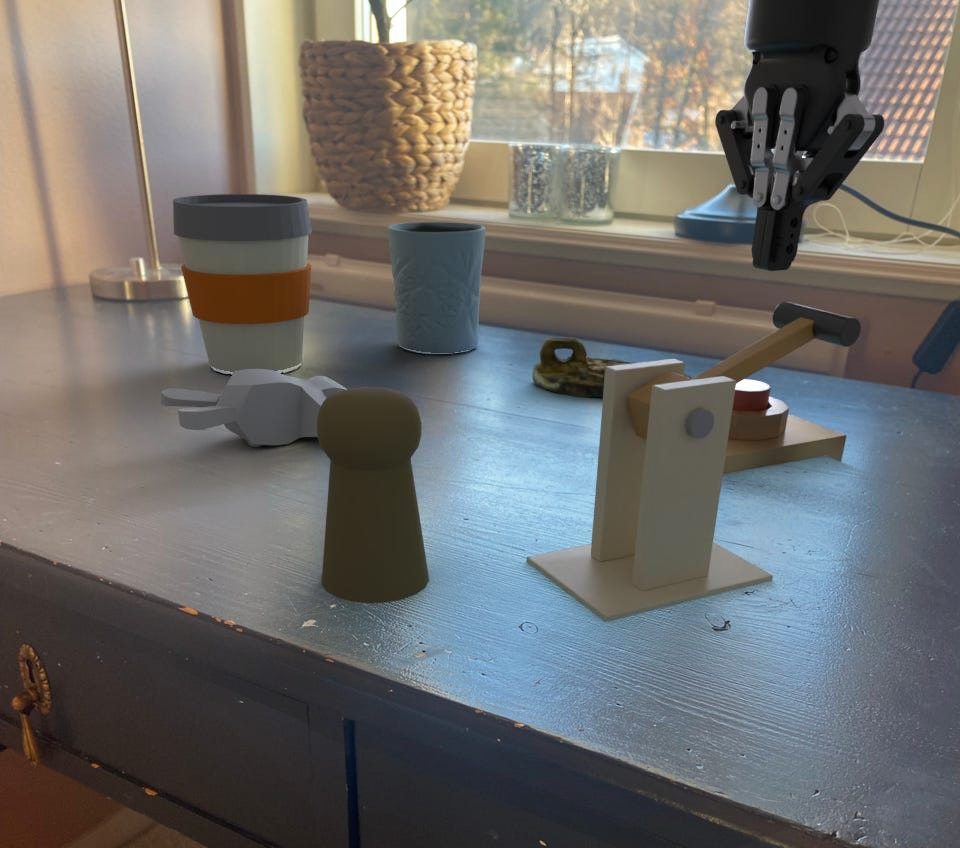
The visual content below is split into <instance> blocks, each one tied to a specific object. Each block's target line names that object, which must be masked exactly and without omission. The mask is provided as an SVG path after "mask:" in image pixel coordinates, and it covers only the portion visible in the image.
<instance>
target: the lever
mask: <svg viewBox="0 0 960 848" xmlns="http://www.w3.org/2000/svg"><path fill="white" fill-rule="evenodd" d="M772 324H773V325H774V327H775V328H776V329H777V330H775V331H774V332H772V333H770V334H768V335H766V336H765V337H763V338H761V339H759V340H758V341H756V342H754V343H752V344H751V345H749V346H747V347H745V348H743V349H742V350H739V351H738V352H737V353H735V354H733V355H731V356H729V357H727V358H726V359H724V360H722V361H720V362H719V363H717V364H715V365H713V366H711V367H709V368H708V369H706V370H704V371H703V372H701V373H699V374H697V375H695V376H694V377H691V378H692V379H690V378H688V377H685V376H682V375H680V374H677V373H674V372H672V371H669V372H667V373H665V374H664V375H662V376H660V377H658V378H657V379H655V380H653V381H651V382H649V383H648V384H646V385H644V386H642V387H640V388H639V389H637V390H635V391H633V392H632V393H630V394H628V395H627V397H628V402H629V406H630V411H631V415H632V419H633V424H634V428H635V433H636V435H637V436H639V437H641V438H643V439H645V440H647V431H648V421H649V412H650V402H651V393H652V386H653V385H659V384H666V383H674V382H682V381H689V380H697V379H705V378H712V377H720V376H725V377H728V378H731V379H733V380H736V383H738V382H740V381H742V380H743V379H747V378H749V377H750V376H752V375H754V374H756V373H757V372H759V371H761V370H763V369H764V368H767V367H768V366H770V365H772V364H773V363H775V362H777V361H778V360H780V359H782V358H784V357H785V356H787V355H789V354H790V353H792V352H794V351H796V350H797V349H799V348H801V347H803V346H805V345H806V344H807V343H809V342H812V341H813V340H815V339H816V340H819V341H821V342H825V343H829V344H833V345H837V346H841V347H844V348H848V347H851V346H853V345H854V344H855V343H856V342H857V341H858V339H859V338H860V335H861V330H862V327H861V325H862V324H861V322H860V321H859V319H857V318H855V317H852V316H847V315H843V314H839V313H835V312H832V311H827V310H823V309H820V308H815V307H811V306H806V305H802V304H799V303H795V302H790V301H785V300H784V301H782V302H780V303H778V305H776V307H775V308H774V311H773V313H772Z"/></svg>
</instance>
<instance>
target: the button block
mask: <svg viewBox="0 0 960 848" xmlns="http://www.w3.org/2000/svg"><path fill="white" fill-rule="evenodd" d="M789 412H790V407H789V406H788V404H786V403H785V401H783V400H780V399H778V398H775V397H772V396H769V401H768V407H767V410H764V411H757V412H755V411H737V410H732V415H731V422H730V429H729V436H728V443H727V449H726V456H725V463H724V470H723V475H728V474H733V473H738V472H744V471H749V470H755V469H760V468H765V467H771V466H776V465H782V464H788V463H793V462H799V461H803V460H804V461H805V460H808V459H816V458H820V457H825V456H826V457H829V458H830V459H833V460H836V461H838V462H842V461H843V455H844V450H845V446H846V441H847V434H844V433H842V432H839V431H836V430H835V429H834V430H833V429H830V428H828V427H825V426H823V425H821V424H817V423H815V422H812V421H809V420H806V419H804V418H801V417H799V416H795V415H793V414H790V413H789Z"/></svg>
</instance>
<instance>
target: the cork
mask: <svg viewBox="0 0 960 848" xmlns="http://www.w3.org/2000/svg"><path fill="white" fill-rule="evenodd" d="M346 389H347V390H342V391H339V392H336V393H334V394H332V395H331V396H329V397H328V398H327V399H325V400H324V402H323V403H322V405H321V407H320V409H319V412H318V418H317V435H318V437H317V440H318V442H319V445H320V448H321V450H322V451H323V453H324V455H326V456H327V458H328V459H329V472H328V473H329V474H328V485H327V486H328V489H327V502H326V503H327V504H326V515H325V528H324V529H325V531H324V532H325V533H324V541H323V543H324V544H323V555H322V572H321V585H322V587H323V588H324V590H325V591H326V592H327V593H328V594H330V595H332V596H334V597H335V598H338V599H341V600H345V601H348V602H351V603H363V604H382V603H383V604H384V603H390V602H394V601H395V602H396V601H401V600H405V599H407V598H410V597H412V596H416V595H417V594H419V593H420V592H422V591H423V590H424V589H425V588H427V585H428V583H429V581H430V578H429V577H430V575H429V568H428V563H427V557H426V551H425V543H424V537H423V531H422V530H423V529H422V523H421V518H420V517H421V516H420V509H419V505H418V498H417V497H418V496H417V490H416V484H415V478H414V471H413V465H412V457H413V456H414V454H415V453H416V451H417V450H418V448H419V447H420V442H421V439H422V420H421V416H420V412H419V408H418V406H417V405H416V403H415V402H414V400H413V398H411V397H409V395H407V394H405V393H404V392H401V391H399V390H396V389H391V388H387V387H386V388H385V387H376V386H363V387H353V388H346Z"/></svg>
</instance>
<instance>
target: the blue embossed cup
mask: <svg viewBox="0 0 960 848" xmlns="http://www.w3.org/2000/svg"><path fill="white" fill-rule="evenodd" d="M486 230H487V229H486V227H485V226H484V225H481V224H474V223H464V222H445V221H444V222H443V221H442V222H440V221H439V222H438V221H437V222H436V221H426V222H425V221H419V222H404V223H403V222H402V223H401V222H400V223H395V224H390V225H389V226H387V238H388V247H389V258H390V265H391V275H392V278H393V285H394V292H393V293H394V300H395V310H396V317H395V320H396V321H395V323H396V332H397V343H399V344H398V346H399V345H401V346H402V347H404V348H407V349H411V350H416V351H421V352H431V353H455V352H461V351H466V350H470V349H473V348H475V347H476V348H477V346H478V342H479V324H480V321H479V317H480V315H479V312H480V300H481V283H482V282H481V281H482V270H483V262H484V255H485V243H486ZM476 348H475V349H476Z"/></svg>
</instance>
